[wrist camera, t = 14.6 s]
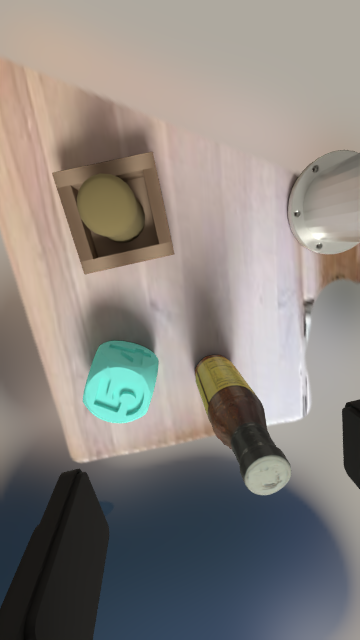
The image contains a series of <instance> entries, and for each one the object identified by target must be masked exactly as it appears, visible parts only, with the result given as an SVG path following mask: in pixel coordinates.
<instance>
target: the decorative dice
mask: <svg viewBox="0 0 360 640" xmlns="http://www.w3.org/2000/svg"><path fill="white" fill-rule="evenodd" d="M157 372H158V358H157V357H156V355H155V354H154V353H153V352H152V351H150V350H149V349H147V348H145V347H143V346H141V345H138V344H135V343H131V342H126V341H108V342H105V343H103V344H101V345H100V346H99V348H98V350H97V352H96V354H95V357H94V359H93V362H92V365H91V368H90V371H89V375H88V378H87V382H86V386H85V390H84V395H83V403H84V404H85V406H86V407H87V409H88V410H89V411H90V412H91V413H92V414H93V415H95V416H96V417H98V418H100V419H102V420H104V421H107V422H112V423H127V422H131V421H134V420H136V419H138V418H140V417H142V416H143V415H145V414H146V412H147V410H148V407H149V405H150V402H151V398H152V395H153V391H154V387H155V382H156V377H157Z"/></svg>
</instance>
